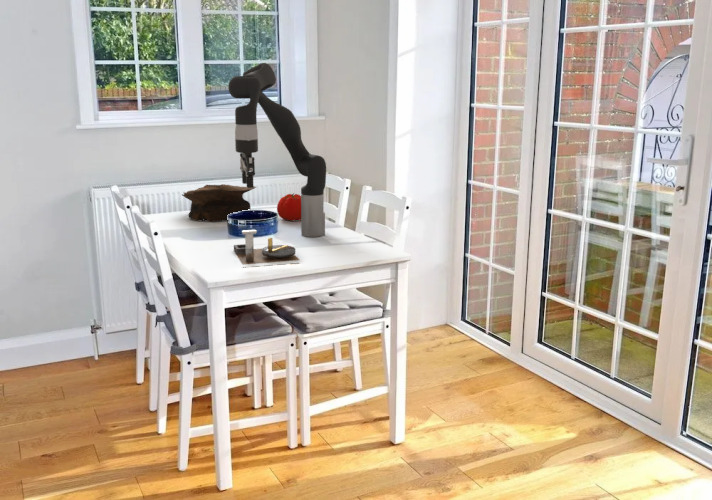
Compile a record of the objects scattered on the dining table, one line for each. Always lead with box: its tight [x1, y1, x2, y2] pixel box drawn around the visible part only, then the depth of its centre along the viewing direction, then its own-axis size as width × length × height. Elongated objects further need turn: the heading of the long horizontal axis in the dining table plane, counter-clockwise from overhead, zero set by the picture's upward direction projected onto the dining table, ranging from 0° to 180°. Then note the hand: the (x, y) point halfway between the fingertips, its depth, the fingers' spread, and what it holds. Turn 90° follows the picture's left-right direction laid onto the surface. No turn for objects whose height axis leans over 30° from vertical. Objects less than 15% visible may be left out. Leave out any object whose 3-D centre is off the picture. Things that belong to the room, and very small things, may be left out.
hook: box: [241, 229, 257, 262], centre depth 247 cm, size 5×3×11 cm, turn 109°
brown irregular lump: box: [181, 183, 257, 222], centre depth 329 cm, size 34×33×15 cm
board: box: [233, 243, 300, 268], centre depth 257 cm, size 20×20×3 cm
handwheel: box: [261, 237, 296, 258], centre depth 254 cm, size 12×12×6 cm
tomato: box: [276, 192, 301, 222], centre depth 321 cm, size 13×14×12 cm
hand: (247, 185), depth 242 cm, fingers open, 8 cm apart
